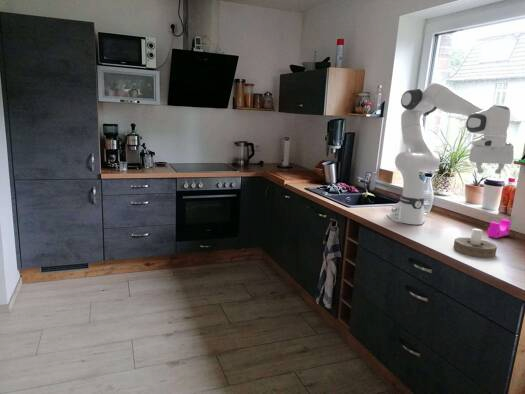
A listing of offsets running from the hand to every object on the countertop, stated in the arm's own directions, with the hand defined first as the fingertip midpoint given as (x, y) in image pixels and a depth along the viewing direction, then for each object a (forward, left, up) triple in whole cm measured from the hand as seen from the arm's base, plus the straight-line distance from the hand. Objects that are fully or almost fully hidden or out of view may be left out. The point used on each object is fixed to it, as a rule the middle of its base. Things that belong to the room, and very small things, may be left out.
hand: (488, 173), depth 177 cm
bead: (+8, -8, -34) cm, 36 cm away
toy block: (-18, +27, -34) cm, 47 cm away
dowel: (+8, -8, -34) cm, 36 cm away
